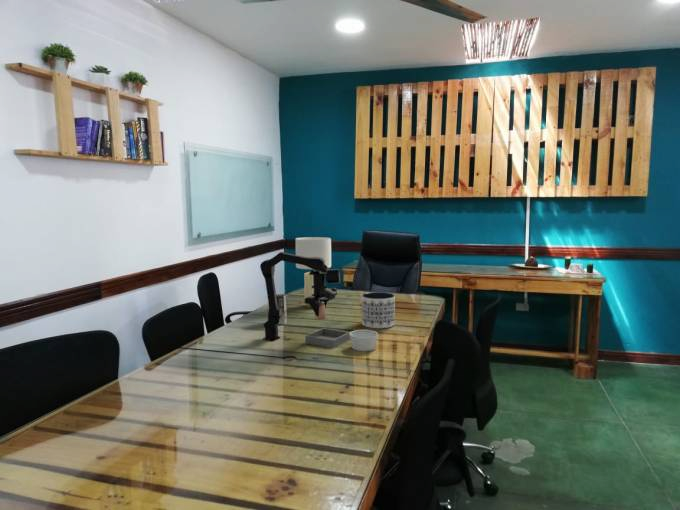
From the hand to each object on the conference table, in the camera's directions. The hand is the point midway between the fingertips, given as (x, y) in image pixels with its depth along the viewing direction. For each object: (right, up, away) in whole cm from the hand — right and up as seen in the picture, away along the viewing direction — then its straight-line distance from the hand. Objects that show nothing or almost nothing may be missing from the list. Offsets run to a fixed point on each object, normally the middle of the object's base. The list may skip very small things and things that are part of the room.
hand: (320, 314), depth 231 cm
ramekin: (+21, -14, -12) cm, 28 cm away
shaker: (0, -2, 0) cm, 2 cm away
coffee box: (-25, -9, +34) cm, 43 cm away
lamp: (-7, -4, +75) cm, 76 cm away
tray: (+4, -13, -1) cm, 13 cm away
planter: (+31, -9, +29) cm, 44 cm away
